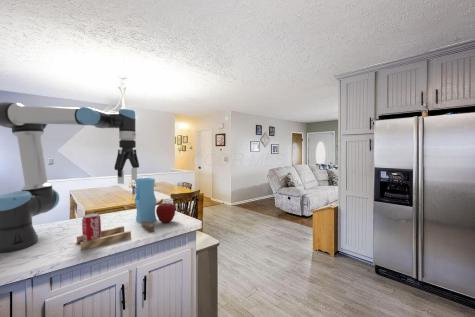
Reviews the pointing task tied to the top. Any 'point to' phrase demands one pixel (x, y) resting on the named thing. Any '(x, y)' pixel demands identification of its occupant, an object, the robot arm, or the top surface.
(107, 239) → the chute
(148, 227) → the block
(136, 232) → the top surface
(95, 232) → the soda can
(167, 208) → the apple
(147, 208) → the light blue storage bin
